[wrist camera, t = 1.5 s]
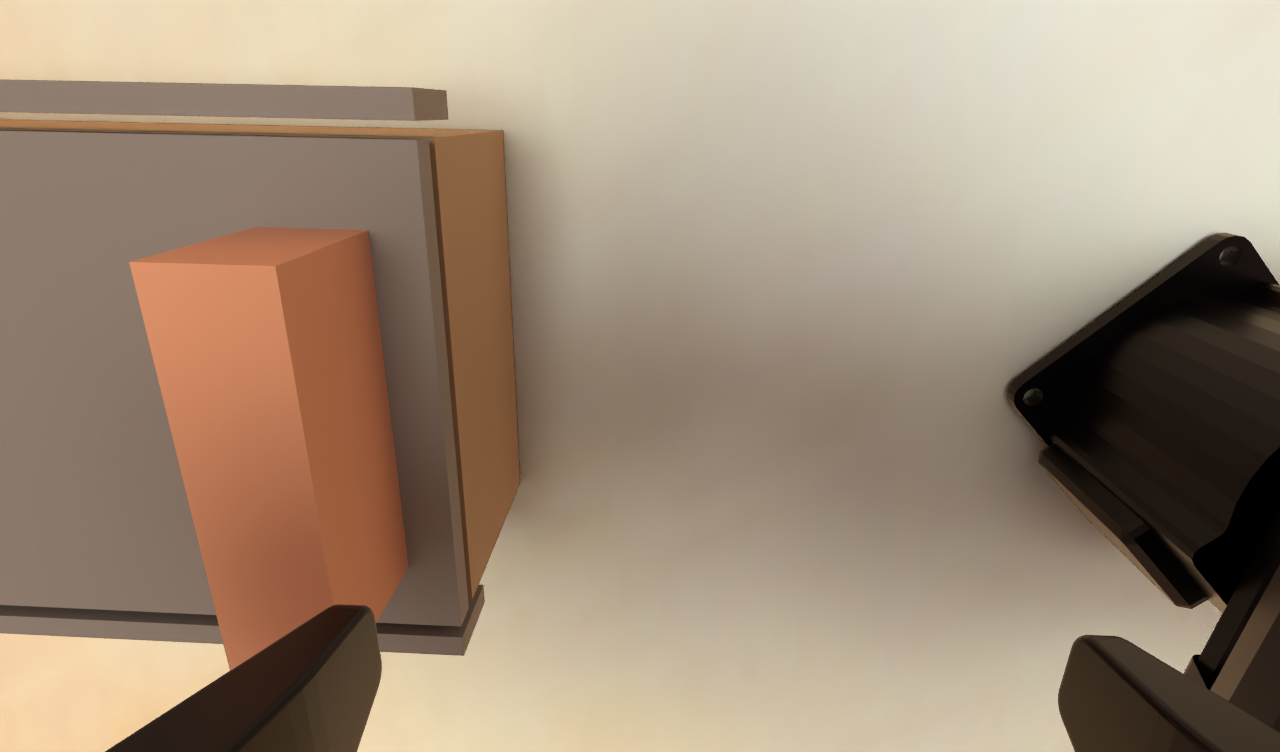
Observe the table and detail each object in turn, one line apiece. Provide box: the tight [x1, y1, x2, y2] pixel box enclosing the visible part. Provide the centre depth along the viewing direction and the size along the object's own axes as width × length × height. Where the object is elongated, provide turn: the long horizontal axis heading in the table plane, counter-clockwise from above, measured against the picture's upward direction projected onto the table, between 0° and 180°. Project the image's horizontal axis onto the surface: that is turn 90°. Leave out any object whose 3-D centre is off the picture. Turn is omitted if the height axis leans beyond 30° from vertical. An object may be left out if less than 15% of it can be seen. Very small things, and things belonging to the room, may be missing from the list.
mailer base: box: [0, 120, 520, 599], centre depth 17 cm, size 15×10×5 cm, turn 89°
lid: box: [0, 80, 485, 670], centre depth 13 cm, size 15×12×5 cm
